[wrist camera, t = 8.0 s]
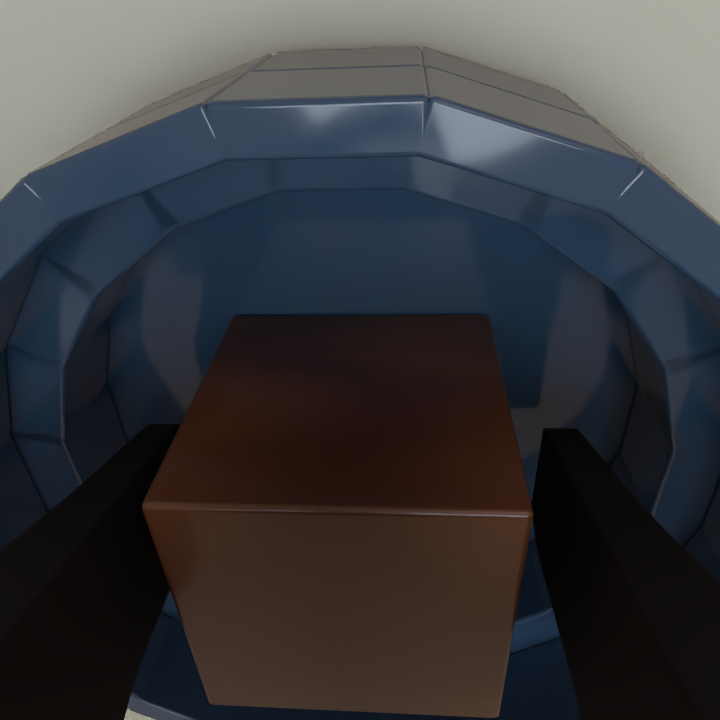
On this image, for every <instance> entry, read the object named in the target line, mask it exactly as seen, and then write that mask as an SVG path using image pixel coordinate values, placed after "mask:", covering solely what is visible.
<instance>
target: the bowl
mask: <svg viewBox="0 0 720 720" xmlns="http://www.w3.org/2000/svg"><path fill="white" fill-rule="evenodd" d="M342 315H486V316H488V317H489V319H490V323H491V327H492V332H493V336H494V340H495V345H496V349H497V354H498V358H499V363H500V367H501V371H502V376H503V380H504V385H505V389H506V394H507V398H508V402H509V407H510V411H511V416H512V420H513V425H514V429H515V433H516V438H517V442H518V447H519V451H520V456H521V460H522V464H523V469H524V473H525V478H526V482H527V487H528V491H529V495H530V500H531V501H532V495H533V489H534V483H535V477H536V471H537V465H538V459H539V452H540V446H541V440H542V434H543V428H577V429H578V430H579V431H580V432H581V433H582V434H583V435H584V437H585V438H586V439H587V440H588V441H589V443H590V444H591V445H592V446H593V448H594V449H595V450H596V451H597V453H598V454H599V455H600V456H601V457H602V459H603V460H604V461H605V462H606V463H607V465H608V466H609V467H610V468H611V469H612V471H613V472H614V473H615V474H616V475H617V477H618V478H619V479H620V480H621V481H622V482H623V484H624V485H625V486H626V487H627V488H628V489H629V491H630V492H631V493H632V494H633V495H634V496H635V497H636V498H637V499H638V501H639V502H640V503H641V504H642V505H643V506H644V507H645V508H646V509H647V510H648V512H649V513H650V514H651V515H652V516H653V517H654V518H655V519H656V520H657V521H658V522H659V523H660V525H661V526H662V527H663V528H664V529H665V530H666V531H667V532H668V533H669V534H670V535H671V536H672V537H673V538H674V539H675V540H676V541H677V542H678V543H679V544H680V545H681V546H682V547H683V548H684V549H685V550H686V551H687V552H688V553H689V554H690V555H691V556H692V557H693V558H694V559H695V560H696V561H697V562H698V563H699V564H700V565H702V566H703V567H704V568H705V569H706V570H707V571H708V572H709V573H710V574H711V575H712V576H713V577H714V578H716V579H717V580H718V581H719V582H720V222H719V221H717V220H716V219H715V218H714V217H713V216H712V215H710V214H709V213H708V212H707V211H706V210H705V209H703V208H702V207H701V206H700V205H699V204H697V203H696V202H695V201H694V200H693V199H692V198H690V197H689V196H688V195H687V194H686V193H685V192H683V191H682V190H681V189H680V188H679V187H678V186H676V185H675V184H674V183H673V182H672V181H670V180H669V179H668V178H667V177H666V176H665V175H663V174H662V173H661V172H660V171H659V170H657V169H656V168H655V167H654V166H652V165H651V164H650V163H649V162H648V161H646V160H645V159H644V158H643V157H641V156H640V155H639V154H638V153H637V152H635V151H634V150H633V149H632V148H630V147H629V146H628V145H627V144H626V143H624V142H623V141H622V140H621V139H619V138H618V137H617V136H616V135H615V134H613V133H612V132H611V131H610V130H608V129H607V128H606V127H605V126H604V125H602V124H601V123H600V122H599V121H598V120H596V119H595V118H594V117H593V116H591V115H590V114H589V113H588V112H587V111H585V110H584V109H583V108H582V107H580V106H579V105H578V104H577V103H576V102H574V101H573V100H572V99H571V98H569V97H568V96H567V95H566V94H564V93H561V92H560V91H559V90H556V89H553V88H550V87H547V86H543V85H540V84H537V83H534V82H531V81H528V80H525V79H522V78H519V77H516V76H513V75H510V74H507V73H504V72H501V71H497V70H494V69H491V68H488V67H485V66H482V65H479V64H476V63H473V62H470V61H467V60H464V59H461V58H458V57H455V56H452V55H448V54H445V53H442V52H439V51H436V50H433V49H430V48H427V47H424V48H422V50H421V48H419V47H392V48H365V49H338V50H311V51H285V52H278V53H276V54H274V55H271V54H267V55H265V56H262V57H260V58H258V59H255V60H253V61H251V62H248V63H246V64H244V65H241V66H239V67H236V68H234V69H232V70H229V71H227V72H225V73H222V74H220V75H217V76H215V77H213V78H210V79H208V80H206V81H203V82H201V83H198V84H196V85H194V86H191V87H189V88H187V89H184V90H182V91H179V92H177V93H175V94H172V95H170V96H168V97H165V98H163V99H160V100H158V101H156V102H153V103H151V104H150V105H148V106H146V107H144V108H143V109H141V110H139V111H137V112H136V113H134V114H132V115H130V116H129V117H127V118H125V119H123V120H122V121H120V122H118V123H116V124H115V125H113V126H111V127H109V128H108V129H106V130H105V131H102V132H100V133H98V134H96V135H95V136H93V137H91V138H89V139H88V140H86V141H84V142H82V143H81V144H79V145H77V146H75V147H74V148H72V149H70V150H68V151H67V152H65V153H63V154H61V155H60V156H58V157H56V158H54V159H53V160H51V161H49V162H47V163H46V164H44V165H42V166H40V167H39V168H37V169H35V170H33V171H32V172H30V173H28V174H27V176H25V177H23V178H21V179H20V180H19V182H18V183H17V184H16V185H15V186H14V187H13V188H12V189H11V190H10V191H9V192H8V193H7V194H6V195H5V196H4V198H3V199H2V200H1V201H0V549H2V548H3V547H5V546H6V545H7V544H9V543H10V542H11V541H13V540H14V539H15V538H16V537H18V536H19V535H20V534H22V533H23V532H24V531H25V530H27V529H28V528H29V527H30V526H31V525H33V524H34V523H35V522H36V521H38V520H39V519H40V518H41V517H43V516H44V515H45V514H46V513H48V512H49V511H50V510H51V509H52V508H54V507H55V506H56V505H57V504H59V503H60V502H61V501H62V500H64V499H65V498H66V497H67V496H68V495H69V494H71V493H72V492H73V491H74V490H75V489H76V488H77V487H79V486H80V485H81V484H82V483H83V482H84V481H85V480H87V479H88V478H89V477H90V476H91V475H92V474H93V473H94V472H96V471H97V470H98V469H99V468H100V467H101V466H102V465H103V464H105V463H106V462H107V461H108V460H109V459H110V458H111V457H112V456H113V455H115V454H116V453H117V452H118V451H119V450H120V449H121V448H122V447H123V446H124V445H126V444H127V443H128V442H129V441H130V440H131V439H132V438H133V437H134V436H136V435H137V434H138V433H139V432H140V431H141V430H143V429H144V428H145V427H146V426H147V425H148V424H179V426H180V425H181V422H182V420H183V418H184V416H185V414H186V412H187V410H188V408H189V406H190V404H191V402H192V400H193V398H194V396H195V394H196V392H197V390H198V387H199V385H200V383H201V381H202V379H203V377H204V375H205V373H206V371H207V369H208V367H209V365H210V363H211V361H212V359H213V357H214V355H215V353H216V350H217V348H218V346H219V344H220V342H221V340H222V338H223V336H224V334H225V332H226V330H227V328H228V326H229V324H230V322H231V320H232V318H233V317H235V316H342ZM127 708H130V710H131V711H134V712H137V713H139V714H142V715H145V716H147V717H150V718H153V719H156V720H580V719H579V713H578V707H577V702H576V696H575V692H574V688H573V683H572V679H571V675H570V670H569V667H568V663H567V659H566V656H565V652H564V649H563V645H562V641H561V638H560V634H559V630H558V627H557V623H556V619H555V616H554V612H553V609H552V605H551V601H550V598H549V594H548V590H547V587H546V583H545V579H544V575H543V572H542V568H541V564H540V560H539V557H538V551H537V545H536V538H535V532H534V525H533V521H532V526H531V532H530V538H529V544H528V550H527V556H526V561H525V567H524V573H523V579H522V585H521V591H520V597H519V602H518V608H517V614H516V620H515V626H514V632H513V638H512V643H511V649H510V655H509V661H508V667H507V673H506V678H505V684H504V690H503V696H502V702H501V708H500V713H499V716H498V717H495V718H485V717H464V716H443V715H422V714H401V713H380V712H359V711H338V710H317V709H296V708H275V707H254V706H233V705H213V704H211V703H209V701H208V698H207V695H206V692H205V689H204V686H203V684H202V681H201V678H200V675H199V672H198V669H197V666H196V663H195V660H194V657H193V655H192V652H191V649H190V646H189V643H188V640H187V637H186V634H185V631H184V628H183V626H182V623H181V620H180V617H179V614H178V611H177V608H176V605H175V602H174V599H173V597H172V594H171V591H169V594H168V596H167V599H166V601H165V604H164V606H163V609H162V611H161V614H160V616H159V619H158V621H157V624H156V626H155V629H154V631H153V634H152V636H151V639H150V641H149V644H148V646H147V649H146V651H145V654H144V656H143V659H142V662H141V665H140V668H139V671H138V673H137V676H136V679H135V683H134V686H133V690H132V693H131V697H130V700H129V703H128V707H127Z"/></svg>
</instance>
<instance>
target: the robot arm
mask: <svg viewBox="0 0 720 720" xmlns="http://www.w3.org/2000/svg"><path fill="white" fill-rule="evenodd" d="M179 427H180V426H179V424H148V425H147V426H146V427H145V428H144V429H143V430H141V431H140V432H139V433H138V434H137V435H136V436H134V437H133V438H132V439H131V440H130V441H129V442H128V443H127V444H126V445H124V446H123V447H122V448H121V449H120V450H119V451H118V452H117V453H116V454H115V455H113V456H112V457H111V458H110V459H109V460H108V461H107V462H106V463H105V464H103V465H102V466H101V467H100V468H99V469H98V470H97V471H96V472H94V473H93V474H92V475H91V476H90V477H89V478H88V479H87V480H85V481H84V482H83V483H82V484H81V485H80V486H79V487H77V488H76V489H75V490H74V491H73V492H72V493H71V494H69V495H68V496H67V497H66V498H65V499H64V500H62V501H61V502H60V503H59V504H57V505H56V506H55V507H54V508H52V509H51V510H50V511H49V512H48V513H46V514H45V515H44V516H43V517H41V518H40V519H39V520H38V521H36V522H35V523H34V524H33V525H31V526H30V527H29V528H28V529H27V530H25V531H24V532H23V533H22V534H20V535H19V536H18V537H16V538H15V539H14V540H13V541H11V542H10V543H9V544H7V545H6V546H5V547H3V548H2V549H0V720H124V717H125V714H126V710H127V707H128V703H129V700H130V697H131V693H132V690H133V686H134V683H135V679H136V676H137V673H138V671H139V668H140V665H141V662H142V659H143V656H144V654H145V651H146V649H147V646H148V644H149V641H150V639H151V636H152V634H153V631H154V629H155V626H156V624H157V621H158V619H159V616H160V614H161V611H162V609H163V606H164V604H165V601H166V599H167V596H168V594H169V591H170V588H169V585H168V582H167V579H166V576H165V573H164V571H163V568H162V565H161V562H160V559H159V556H158V553H157V550H156V547H155V544H154V542H153V539H152V536H151V533H150V530H149V527H148V524H147V521H146V518H145V515H144V513H143V510H142V504H143V501H144V499H145V497H146V494H147V492H148V490H149V488H150V486H151V484H152V482H153V480H154V478H155V476H156V474H157V472H158V470H159V468H160V466H161V464H162V462H163V460H164V457H165V455H166V453H167V451H168V449H169V447H170V445H171V443H172V441H173V439H174V437H175V435H176V433H177V431H178V429H179ZM531 504H532V509H533V513H534V515H533V525H534V532H535V538H536V545H537V551H538V557H539V560H540V564H541V568H542V572H543V575H544V579H545V583H546V587H547V590H548V594H549V598H550V601H551V605H552V609H553V612H554V616H555V619H556V623H557V627H558V630H559V634H560V638H561V641H562V645H563V649H564V652H565V656H566V659H567V663H568V667H569V670H570V675H571V679H572V683H573V688H574V692H575V696H576V702H577V707H578V713H579V719H580V720H720V582H719V581H718V580H717V579H716V578H714V577H713V576H712V575H711V574H710V573H709V572H708V571H707V570H706V569H705V568H704V567H703V566H702V565H700V564H699V563H698V562H697V561H696V560H695V559H694V558H693V557H692V556H691V555H690V554H689V553H688V552H687V551H686V550H685V549H684V548H683V547H682V546H681V545H680V544H679V543H678V542H677V541H676V540H675V539H674V538H673V537H672V536H671V535H670V534H669V533H668V532H667V531H666V530H665V529H664V528H663V527H662V526H661V525H660V523H659V522H658V521H657V520H656V519H655V518H654V517H653V516H652V515H651V514H650V513H649V512H648V510H647V509H646V508H645V507H644V506H643V505H642V504H641V503H640V502H639V501H638V499H637V498H636V497H635V496H634V495H633V494H632V493H631V492H630V491H629V489H628V488H627V487H626V486H625V485H624V484H623V482H622V481H621V480H620V479H619V478H618V477H617V475H616V474H615V473H614V472H613V471H612V469H611V468H610V467H609V466H608V465H607V463H606V462H605V461H604V460H603V459H602V457H601V456H600V455H599V454H598V453H597V451H596V450H595V449H594V448H593V446H592V445H591V444H590V443H589V441H588V440H587V439H586V438H585V437H584V435H583V434H582V433H581V432H580V431H579V430H578V429H577V428H543V434H542V440H541V446H540V452H539V459H538V465H537V471H536V477H535V483H534V489H533V495H532V501H531Z"/></svg>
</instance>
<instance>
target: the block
mask: <svg viewBox="0 0 720 720" xmlns="http://www.w3.org/2000/svg"><path fill="white" fill-rule="evenodd" d="M142 510H143V513H144V515H145V518H146V521H147V524H148V527H149V530H150V533H151V536H152V539H153V542H154V544H155V547H156V550H157V553H158V556H159V559H160V562H161V565H162V568H163V571H164V573H165V576H166V579H167V582H168V585H169V588H170V591H171V594H172V597H173V599H174V602H175V605H176V608H177V611H178V614H179V617H180V620H181V623H182V626H183V628H184V631H185V634H186V637H187V640H188V643H189V646H190V649H191V652H192V655H193V657H194V660H195V663H196V666H197V669H198V672H199V675H200V678H201V681H202V684H203V686H204V689H205V692H206V695H207V698H208V701H209V703H211V704H213V705H233V706H254V707H275V708H296V709H317V710H338V711H359V712H380V713H401V714H422V715H443V716H464V717H485V718H495V717H498V716H499V713H500V708H501V702H502V696H503V690H504V684H505V678H506V673H507V667H508V661H509V655H510V649H511V643H512V638H513V632H514V626H515V620H516V614H517V608H518V602H519V597H520V591H521V585H522V579H523V573H524V567H525V561H526V556H527V550H528V544H529V538H530V532H531V526H532V521H533V515H534V513H533V509H532V504H531V500H530V495H529V491H528V487H527V482H526V478H525V473H524V469H523V464H522V460H521V456H520V451H519V447H518V442H517V438H516V433H515V429H514V425H513V420H512V416H511V411H510V407H509V402H508V398H507V394H506V389H505V385H504V380H503V376H502V371H501V367H500V363H499V358H498V354H497V349H496V345H495V340H494V336H493V332H492V327H491V323H490V319H489V317H488V316H486V315H342V316H235V317H233V318H232V320H231V322H230V324H229V326H228V328H227V330H226V332H225V334H224V336H223V338H222V340H221V342H220V344H219V346H218V348H217V350H216V353H215V355H214V357H213V359H212V361H211V363H210V365H209V367H208V369H207V371H206V373H205V375H204V377H203V379H202V381H201V383H200V385H199V387H198V390H197V392H196V394H195V396H194V398H193V400H192V402H191V404H190V406H189V408H188V410H187V412H186V414H185V416H184V418H183V420H182V422H181V425H180V427H179V429H178V431H177V433H176V435H175V437H174V439H173V441H172V443H171V445H170V447H169V449H168V451H167V453H166V455H165V457H164V460H163V462H162V464H161V466H160V468H159V470H158V472H157V474H156V476H155V478H154V480H153V482H152V484H151V486H150V488H149V490H148V492H147V494H146V497H145V499H144V501H143V504H142Z"/></svg>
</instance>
